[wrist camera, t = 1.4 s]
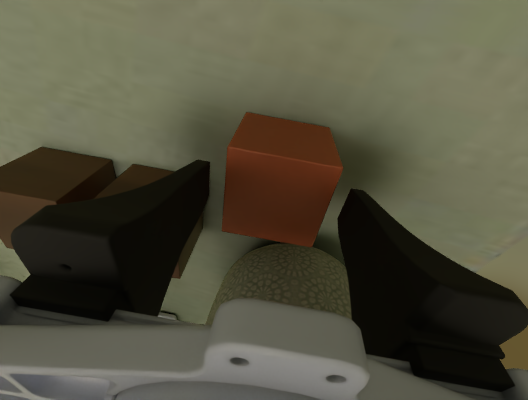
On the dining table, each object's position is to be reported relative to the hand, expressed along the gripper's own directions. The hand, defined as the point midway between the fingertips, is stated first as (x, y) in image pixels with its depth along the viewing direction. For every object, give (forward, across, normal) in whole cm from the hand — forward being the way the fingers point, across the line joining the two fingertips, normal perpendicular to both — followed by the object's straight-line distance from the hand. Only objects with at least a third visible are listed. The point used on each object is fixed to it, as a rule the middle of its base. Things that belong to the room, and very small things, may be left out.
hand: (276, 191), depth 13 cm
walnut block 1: (+4, +14, +5) cm, 15 cm away
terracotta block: (+4, 0, 0) cm, 4 cm away
